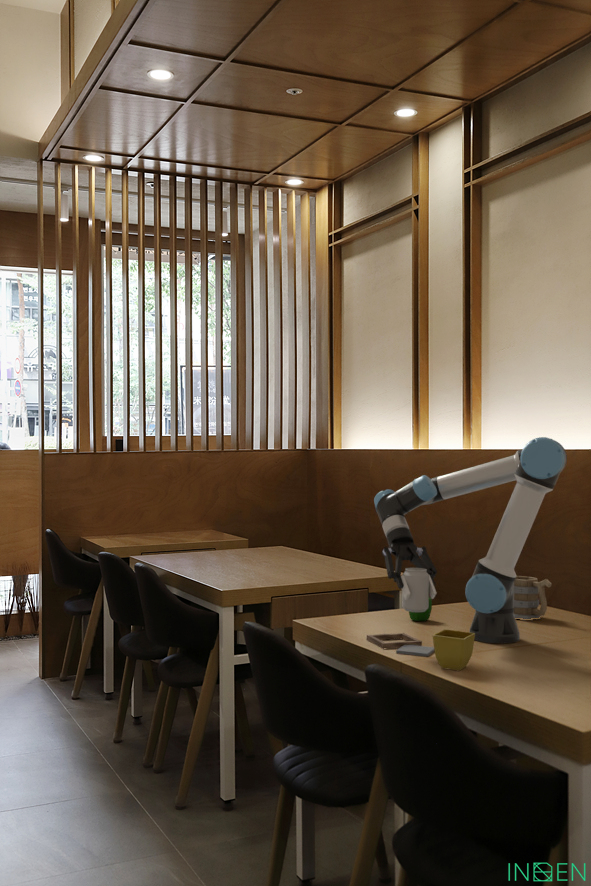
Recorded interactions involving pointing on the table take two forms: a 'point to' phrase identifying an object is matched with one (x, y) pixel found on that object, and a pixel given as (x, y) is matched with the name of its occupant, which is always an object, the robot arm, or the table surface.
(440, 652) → the flower pot
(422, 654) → the slate coaster
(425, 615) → the bell pepper
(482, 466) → the robot arm
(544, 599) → the tankard
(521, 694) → the table surface
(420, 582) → the white jar
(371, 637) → the walnut frame
